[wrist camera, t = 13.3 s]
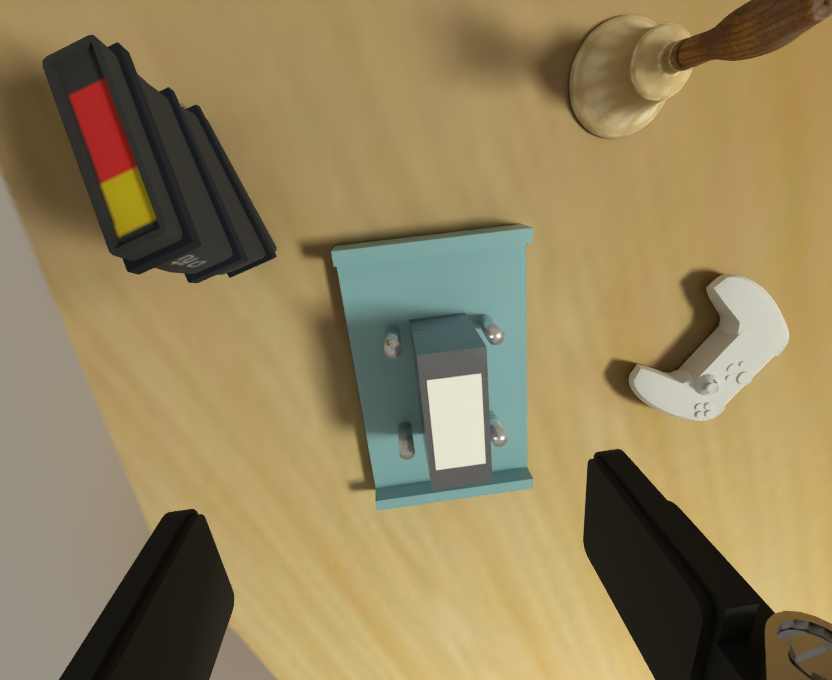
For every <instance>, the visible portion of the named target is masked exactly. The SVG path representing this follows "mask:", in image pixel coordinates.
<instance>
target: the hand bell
mask: <svg viewBox="0 0 832 680" xmlns="http://www.w3.org/2000/svg"><path fill="white" fill-rule="evenodd" d="M831 15H832V0H751V1H749V2H748V3H746V4H744V5H743V6H741V7H739V8H738V9H736V10H735V11H733V12H732V13H730V14H729V15H728V16H727V17H725V18H724V19H723V20H722V21H721V22H720V23H719V24H718V25H717V26H716V27H714V28H713V29H711V30H709V31H706V32H703V33H700V34H697V35H695V36H692V37H691V36H690V34H689V33H688V31H687V30H686V29H685V28H683V27H682V26H680V25H677V24H674V23H664V24H659V25H657V24H656V23H655V22H653V21H652V20H650V19H648V18H645V17H642V16H638V15H621V16H617V17H614V18H612V19H609V20H607V21H606V22H604V23H602V24H601V25H599V26H598V27H597V28H596V29H594V30H593V31H592V32H591V33H590V34H589V36H588V37H587V38H586V39H585V41H584V42H583V44H582V45H581V47H580V49H579V51H578V52H577V54H576V57H575V59H574V62H573V65H572V69H571V72H570V78H569V92H570V102H571V105H572V108H573V111H574V113H575V115H576V117H577V119H578V120H579V122H580V123H581V124H582V125H583V126H584V127H585V128H586V129H587V130H588V131H589V132H591V133H592V134H594V135H597V136H599V137H602V138H608V139H618V138H623V137H627V136H630V135H632V134H634V133H636V132H638V131H640V130H641V129H643V128H644V127H645V126H646V125H647V124H649V123H650V122H651V121H652V120H653V118H654V117H655V116H656V115H657V114H658V112H659V111H660V110H661V108H662V106H663V105H664V103H665V101H666V99H667V98H669V97H671V96H672V95H674V94H675V93H677V92H678V91H679V90H680V89H681V88H682V87H683V85H684V84H685V83H686V81H687V80H688V78H689V76H690V74H691V72H692V69H693V67H695V66H697V65H700V64H702V63H705V62H707V61H710V60H714V59H719V60H728V61H736V60H745V59H750V58H754V57H758V56H761V55H765V54H768V53H770V52H773V51H775V50H778V49H780V48H782V47H784V46H785V45H787V44H789V43H791V42H792V41H793V40H795V39H796V38H798V37H799V36H801V35H802V34H803V33H805V32H806V31H807V30H809V29H810V28H811V27H813V26H814V25H816V24H818V23H820V22H822V21H824V20H826V19H827V18H829V17H830V16H831Z"/></svg>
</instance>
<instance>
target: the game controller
mask: <svg viewBox="0 0 832 680" xmlns="http://www.w3.org/2000/svg"><path fill="white" fill-rule="evenodd" d="M706 291H707V294H708V296H709V299H710V300H711V302H712V304H713V306H714V307H715V309H716V310H717V312H718V313H719V317H720V323H719V326H718V327H717V328H716V329H715V330H714V332H713V333H712V334H711V335H710V336H709V337H708V338H707V339H706V340H705V341H704V342H703V343H702V344H701V345H700V346H699V348H698V349H697V350H696V351H695V352H694V353H693V354H692V355H691V356H690V357H689V358H688V359H687V360H686V361H685V362H684V364H683V365H682V366H681V367H680V368H679V369H678V370H675V371H672V372H669V373H667V372H662V371H659V370H656V369H653V368H650V367H647V366H644V365H639V364H637V365H636V366H635V368H634V369H633V371H632V372H631V373H630V375H629V385H630V387H631V389H632V391H633V392H634V393H635V395H636V396H637V397H638V398H639V399H640V400H641V401H643V402H644V403H645V404H647V405H648V406H650V407H652V408H654V409H656V410H658V411H660V412H663V413H665V414H668V415H671V416H675V417H679V418H685V419H692V420H703V421H704V420H711V419H712V418H714V417H716V416H718V415H719V414H720V413H721V412H722V411H723V410H724V409H725V407H724V406H725V405H726V404H727V403H728V402H729V401H730V400H731V399H732V398H733V397H734V396H735V395H736V394H737V393H738V392H739V391H740V390H741V389H742V387H743V386H744V385H746V384H749V383H750V382H751V381H752V378H753V376H754V375H755V374H756V373H757V372H758V371H759V370H760V369H761V368H762V367H763V366H764V365H765V364H766V363H767V362H768V361H769V360H770V359H771V358H772V357H773V356H775V357H777V356H778V355H779V354H780V353H781V352H782V351H783V350H784V348H785V346H786V345H787V343H788V341H789V332H788V328H787V325H786V322H785V320H784V318H783V316H782V314H781V312H780V310H779V308H778V306H777V305H776V303H775V301H774V300H773V299H772V297H771V296H770V295H769V294H768V293H767V292H766V291H765V290H764V289H763V288H762V287H761V286H760V285H758V284H757V283H755V282H754V281H752V280H750V279H748V278H746V277H744V276H741V275H736V274H724V275H721V276H719V277H717V278H716V279H715V280H714V281H713V282H711V283H710V284H709V285H708V286H707V287H706Z"/></svg>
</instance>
